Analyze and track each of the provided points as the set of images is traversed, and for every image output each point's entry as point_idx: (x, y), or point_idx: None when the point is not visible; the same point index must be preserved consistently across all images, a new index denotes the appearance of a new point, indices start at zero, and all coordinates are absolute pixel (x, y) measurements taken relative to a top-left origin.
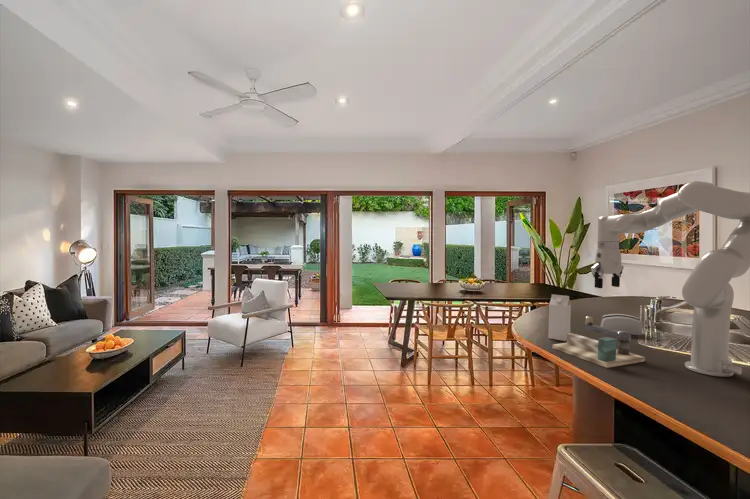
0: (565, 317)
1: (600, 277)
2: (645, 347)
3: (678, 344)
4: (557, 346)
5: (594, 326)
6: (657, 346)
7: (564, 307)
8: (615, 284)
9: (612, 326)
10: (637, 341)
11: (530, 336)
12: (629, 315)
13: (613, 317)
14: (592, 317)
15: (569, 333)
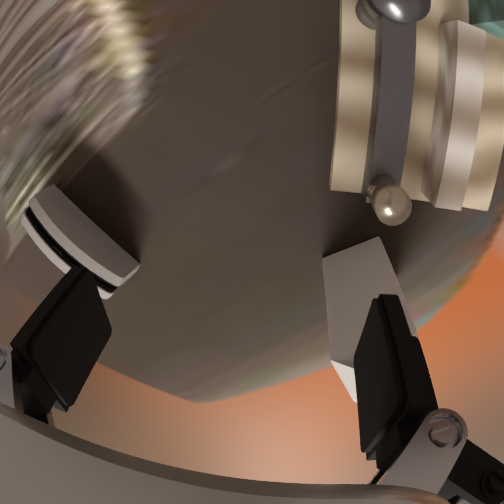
0: (403, 295)
1: (440, 425)
2: (160, 62)
3: (38, 72)
4: (492, 190)
5: (405, 148)
6: (110, 62)
7: (416, 333)
8: (90, 311)
9: (107, 249)
10: (119, 130)
11: (413, 315)
12: (37, 242)
13: (91, 264)
14: (391, 190)
15: (450, 208)
